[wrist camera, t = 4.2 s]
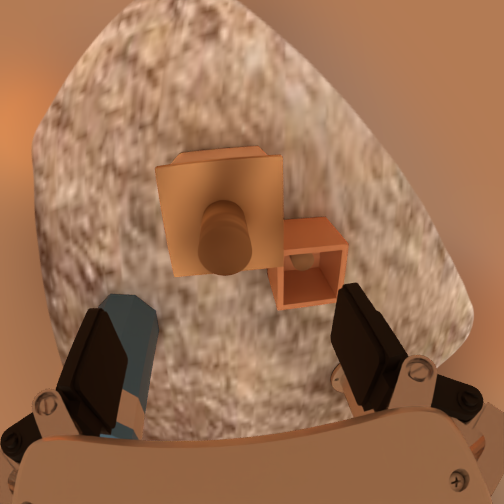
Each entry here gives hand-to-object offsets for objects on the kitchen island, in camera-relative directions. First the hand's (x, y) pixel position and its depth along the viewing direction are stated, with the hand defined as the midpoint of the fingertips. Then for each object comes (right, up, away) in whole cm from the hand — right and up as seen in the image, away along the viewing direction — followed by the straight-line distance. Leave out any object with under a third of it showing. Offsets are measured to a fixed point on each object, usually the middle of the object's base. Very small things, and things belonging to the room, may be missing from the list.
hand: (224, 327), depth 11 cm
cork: (+6, +3, +23) cm, 24 cm away
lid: (-1, +6, +11) cm, 13 cm away
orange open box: (+6, +4, +23) cm, 24 cm away
